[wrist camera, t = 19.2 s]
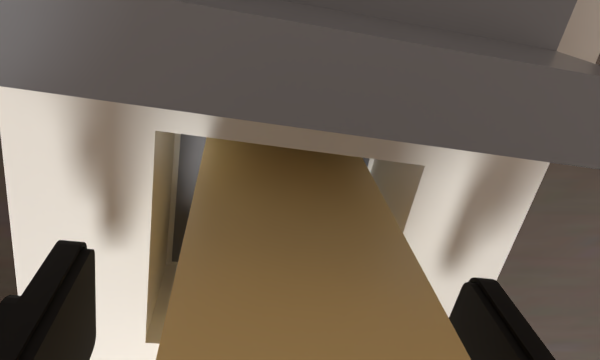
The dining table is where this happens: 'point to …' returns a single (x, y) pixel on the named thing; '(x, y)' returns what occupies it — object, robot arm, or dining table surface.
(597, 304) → the dining table surface
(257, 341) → the plug
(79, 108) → the socket
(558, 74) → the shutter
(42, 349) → the robot arm
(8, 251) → the dining table surface
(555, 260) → the dining table surface
